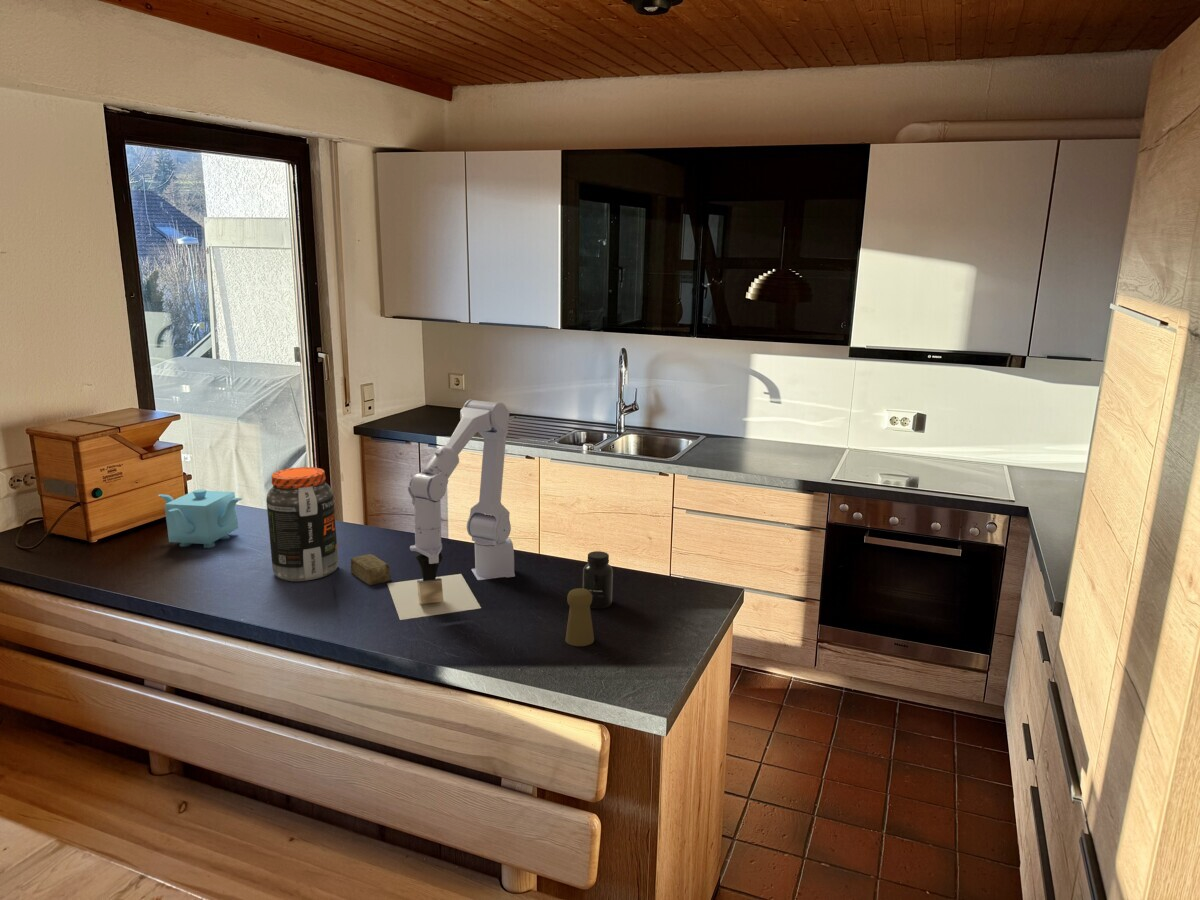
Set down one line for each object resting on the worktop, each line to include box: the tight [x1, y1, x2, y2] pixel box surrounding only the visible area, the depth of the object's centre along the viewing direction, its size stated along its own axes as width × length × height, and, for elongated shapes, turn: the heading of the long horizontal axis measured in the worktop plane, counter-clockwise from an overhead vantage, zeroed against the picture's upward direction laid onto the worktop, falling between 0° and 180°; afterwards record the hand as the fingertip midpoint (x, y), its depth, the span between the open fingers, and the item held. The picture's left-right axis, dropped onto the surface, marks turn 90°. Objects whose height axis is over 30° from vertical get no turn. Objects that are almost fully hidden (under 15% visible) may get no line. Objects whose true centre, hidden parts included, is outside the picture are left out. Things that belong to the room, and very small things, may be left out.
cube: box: [416, 578, 443, 604], centre depth 191 cm, size 5×5×5 cm
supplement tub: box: [265, 466, 339, 582], centre depth 209 cm, size 16×16×26 cm
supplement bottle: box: [582, 550, 614, 610], centre depth 193 cm, size 7×7×12 cm
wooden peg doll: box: [565, 587, 595, 647], centre depth 175 cm, size 6×6×11 cm
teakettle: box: [158, 488, 244, 549], centre depth 232 cm, size 19×19×15 cm
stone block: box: [350, 553, 391, 586], centre depth 208 cm, size 6×12×5 cm, turn 41°
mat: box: [387, 573, 482, 621], centre depth 197 cm, size 18×22×1 cm
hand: (429, 584), depth 190 cm, fingers closed, pressing on cube
